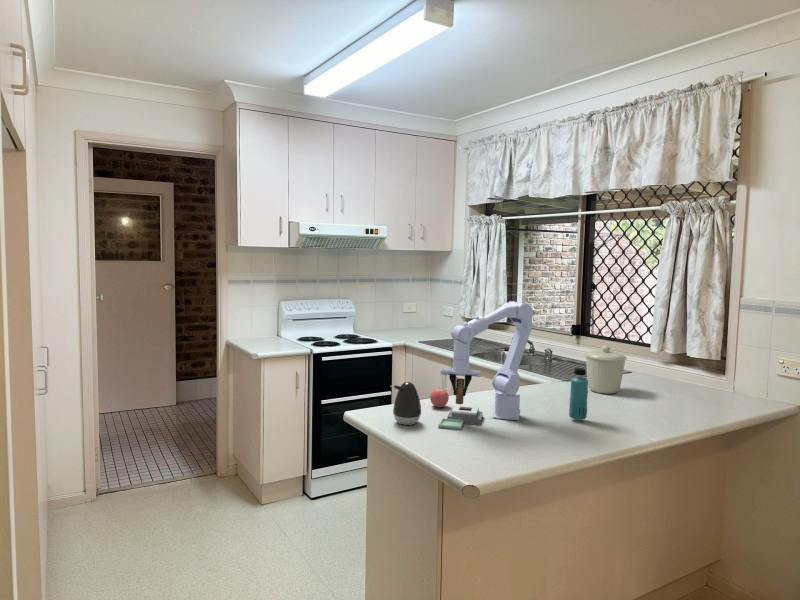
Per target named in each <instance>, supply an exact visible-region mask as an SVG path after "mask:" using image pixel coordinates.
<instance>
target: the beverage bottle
mask: <svg viewBox="0 0 800 600" xmlns="http://www.w3.org/2000/svg"><path fill="white" fill-rule="evenodd" d="M573 375H576V376H574V377H572V378H571V379H570V394H569V395H570V397H569V403H568V404H569V408H568V409H569V411H568V415H569V417H570V418H571V419H574V420H586V419H587V414H588V395H589V394H588V393H589V387H588V380H587V377H584V376H587V371H586V369H585V368H582V367H576V368H574V371H573Z"/></svg>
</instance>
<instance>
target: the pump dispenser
mask: <svg viewBox="0 0 800 600" xmlns="http://www.w3.org/2000/svg"><path fill="white" fill-rule="evenodd" d="M393 388H394V389H396V390H397V393H396V395H395V399H394V403H393V409H392V414H393V416H394V419H395V421H396V422H397V423H399V424H400V425H402V424H403V425H404V426H412V425H415V424H416V423H417V422H418V421H419V419H420V417H421V415H422V405H421V399H420V396H419V393H418V390H417V387H416V386H415V384H414V383H413V382H410V381H405V382H403V383H402V384H401V385H397V384H396V385H394V386H393Z"/></svg>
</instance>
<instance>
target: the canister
mask: <svg viewBox="0 0 800 600" xmlns="http://www.w3.org/2000/svg"><path fill="white" fill-rule="evenodd" d="M584 356H585V361H586V362H585V365H586V379H587V380H588V389H589V390H590V391H592V392H593V393H598V394H604V395H605V394H606V395H610V394H617V393H618V392H619V390H620V389H621V385H622V380H623V375H624V369H625V362H626V360H627V359H628V357H627V356H626V355H624V354H623V353H622V352H618V351H612V350H611V347H610V346H608V345H602V347H601V349H595V350H589V351H587V352H585V353H584Z"/></svg>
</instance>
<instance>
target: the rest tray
mask: <svg viewBox="0 0 800 600" xmlns="http://www.w3.org/2000/svg"><path fill="white" fill-rule="evenodd" d="M464 424H465V423H464V420H458V419H447V418H446V417H441V419H440V421H439V423H438V424H437V425H438V426H437V428H438V429H446V430H454V431H455V430H456V431H461V430H462V428H463V426H464Z"/></svg>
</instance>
